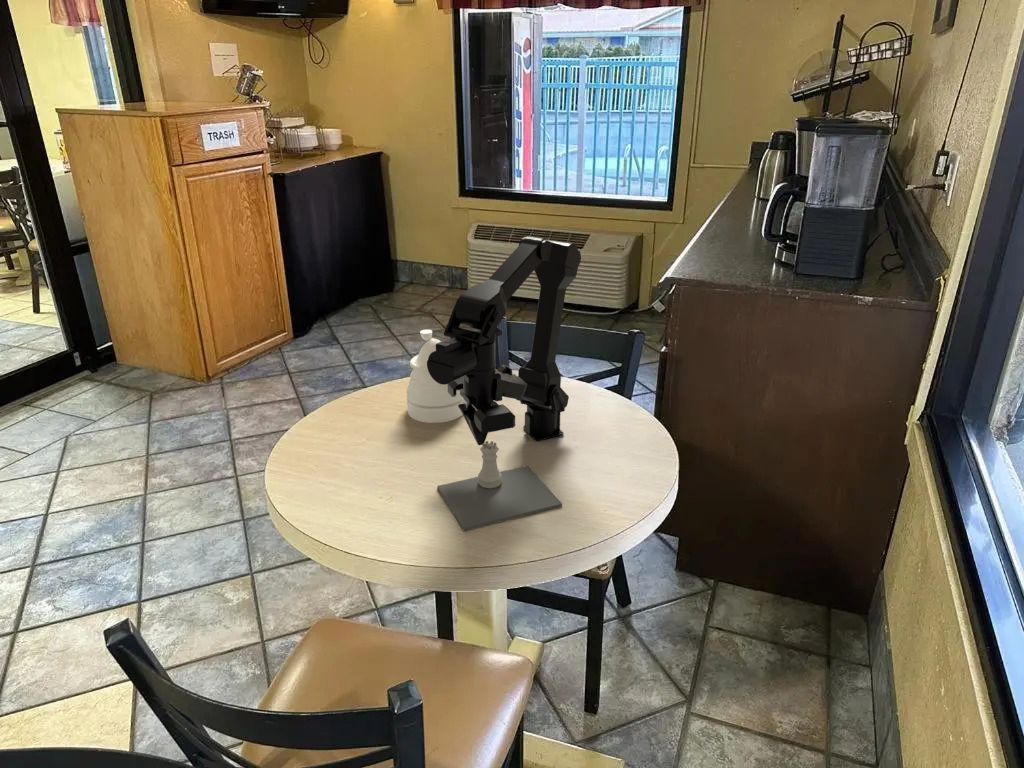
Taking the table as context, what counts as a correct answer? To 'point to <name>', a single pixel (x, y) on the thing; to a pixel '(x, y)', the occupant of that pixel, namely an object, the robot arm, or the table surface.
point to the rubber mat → (498, 498)
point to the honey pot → (429, 389)
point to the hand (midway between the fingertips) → (480, 444)
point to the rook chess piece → (489, 467)
